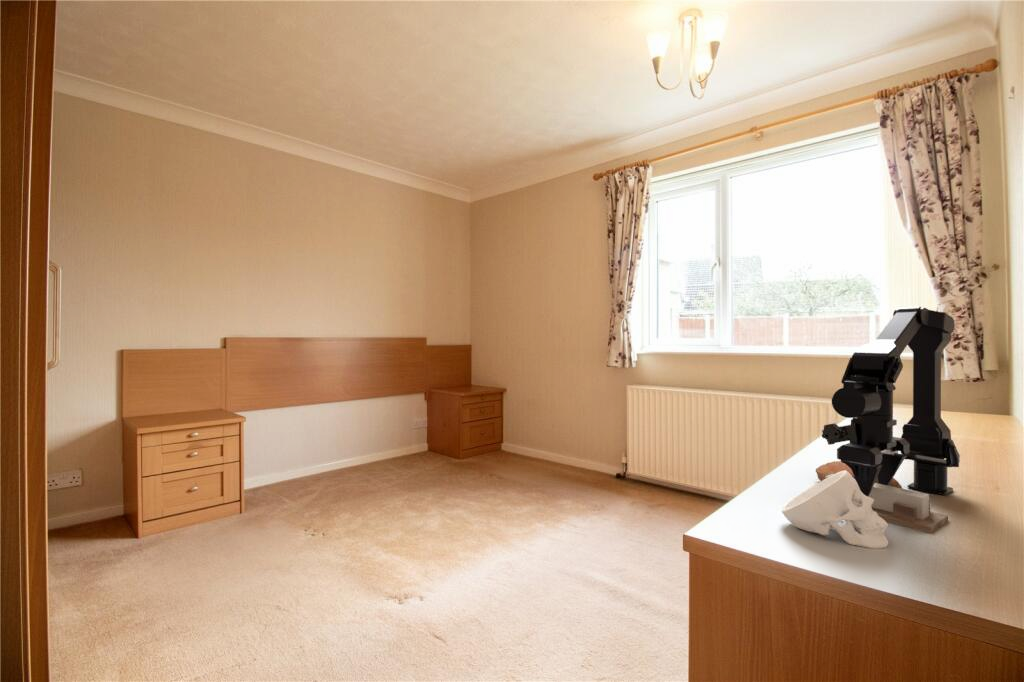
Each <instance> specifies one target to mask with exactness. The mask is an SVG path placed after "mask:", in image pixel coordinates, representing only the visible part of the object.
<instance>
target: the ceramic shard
mask: <svg viewBox="0 0 1024 682" xmlns="http://www.w3.org/2000/svg"><path fill="white" fill-rule="evenodd" d="M844 470H846V471H848V472H849V473H850V474H851V476H852V477H853V478H854V479H855V477H854V474H853V472H852V470H851V468H850V467H848V466H847V465H846V464H845V463H842V462H841V460H839V461H838V460H837V461H835V460H834V461H830V462H827V463H825V464H822V465H819V466H818V467H816V468H815V473H816V476H817V479H818V480H819V482H821V481H823V480H824V479H825V476H828V475H831V474H836V473H838V472H841V471H844ZM875 483H878V477H877V479H876V481H875ZM878 484H879V483H878ZM888 486H892V487H897V488H901V489H904V488H903V486H902V485H901V484H900V483H899V481H898V480H897V479H895V478H894V477H893V478H892V480H891V482H890V483H889V485H888Z"/></svg>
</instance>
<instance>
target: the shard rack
mask: <svg viewBox="0 0 1024 682" xmlns="http://www.w3.org/2000/svg"><path fill="white" fill-rule="evenodd" d="M855 506H856V505H855ZM872 510H873V511H875V512H876V513H877V515H878V516H879V517H881V518H882V519H884V520H885V521H886V522H887V523H892V524H895V525H899V526H903V527H907V528H909V529H910V528H911V529H914V530H918V531H921V532H924V533H929V534H932V533H933V532H934V531H936V530H937V529H939V528H940V527H942V526H943V525H945V523H947V522H949V515H948V514H944V513H939V512H935V511H932V510H931V498H929V516H928V517H926V518H924V519H923V520H921V519H917V507H916V506H912V505H908V504H903V503H899V502H895V503H893V512H889V511H885V510H881V509H877V508H873V507H872Z"/></svg>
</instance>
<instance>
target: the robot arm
mask: <svg viewBox="0 0 1024 682" xmlns="http://www.w3.org/2000/svg"><path fill="white" fill-rule="evenodd" d="M954 330H955V319H954V317H952V316H951V315H949V314H947V312H945V311H937V310H932V309H928V308H926V307H922V306H909V307H908V306H906V307H899V308H895V309H894V310H893V314H892V318H891V319H890V320H889V321H888V323H887V324H886V326H885V327H884V328H883V329H882V331H881V332H880V333H879V335H878V336H877V337H876V338H875V339H874V341H871V342H869V343H867V344H863V345H861V346H860V347H859V348H858V349H856V350H855V351H854V352H853V354H852V356H850V358H849V361H848V363H847V365H846V368H845V371H844V373H843V375H842V378H841V381H840V382H841V384H842V387H841V388H838V389H837V390H836V391H835V392H834V393H833V395H832V398H831V405H832V408H833V410H834V411H835V412H836V413H837V414H838V415H840V416H841V417H844V418H847V419H850V418H851V419H850V424H846V425H840V426H839V425H838V424H837V423H836V422H833V423H830V424H829V423H828V424H824V425H823V429H822V430H821V433H822V434H821V437H822V438H823V439H825V440H826V442H827V445H829V446H830V445H835V443H836V444H837V443H842V442H847V441H849V443H845V444H842V445H841V446H839V447H838V448H837V449H836V459H837V460H839V461H841V462H842V463H845V464H846V465H847V466H848V467H850V468H851V470H852V472H853V474H854V477H855V480H856V482H857V483H858V486H859V488H860V491H861V492H862V493H863V494H864V495H865V496H867V497H868V496H869V494H870V492H871V490H872V488H873V485H874V483H875V481H876V479H877V477H878V483H879V484H883V485H887V486H888V485H889V483H890V482H891V480H892V478H894V477H895V475H896V473H897V471H899V469H900V468H901V467H900V466H901V465H902V463H903V462H904V460H910V461H913V482H912V483H909V484H907V488H908V489H913V490H918V491H921V492H928V493H933V494H938V495H941V496H943V495H944V496H947V495H948V494H949V493H951V492H953V491H954V488H953V487H950V486H948V468H959V467H960V461H961V460H960V457H961V454H960V452H959V451H958V449H957V447H956V445H955V442H954V440H953V439H952V430H951V429H950V428H949V426H948V425H947V424H946V423H945V421H944V420H943V418H942V416H941V414H942V352H943V351H944V350H945V348H946V347H947V346H948V344H950V342H951V340H952V333H953V332H954ZM907 346H908V347H909V349H910V350H911V351H912V359H913V361H912V417H911V418H910V419H909V420H908V422H907V423H904V424H903V426H902V429H901V430H902V434H901V437H895V436H894V426H897V421H898V420H897V419H896V418H895V419H894V418H893V417H894V391H895V390H896V388H897V387H896V386H895V384H896V382H897V380H898V378H899V377H900V374H901V372H902V371H903V369H904V364H903V362H902V359H901V356H902V354H903V352H904V351H905V350H906V348H907ZM899 452H900V453H899Z"/></svg>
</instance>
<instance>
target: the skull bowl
mask: <svg viewBox="0 0 1024 682" xmlns="http://www.w3.org/2000/svg"><path fill="white" fill-rule="evenodd" d="M873 502H874V499H872V498H870V497H867V496H865V495H864V494H863V493H862V492H861V491H860V488H859V486H858V483H857V482H856V480H855V479H854V478H853V477H852V476H851V474H850V473H849V472H848V471H846V470H844V471H841V472H838V473H836V474H834V475H832V476H830V477H828V478H826V479H824V480H823V481H819V482H817V483H815V484H814V485H812V486H811V487H809V488H807V489H806V490H804V491H802V492H801V493H799V494H798V495H796V496H795V497H794V498H793V499H791V500H790V501H788V502H787V503H786V504H785V505H784V506H783V507H782V509H781V514H783V515H784V517H785V519H787V521H789V523H791V524H792V525H793V526H794V527H795V528H797V529H800V530H803V531H806V532H809V533H815V534H819V535H820V536H826V535H829V533H830V531H831V530H833V531H835V532H836V533H838V534H839V536H841V537H840V538H842V539H843V541H844V542H846V543H847V544H849V545H852V546H858V547H862V548H863V547H864V548H868V549H885V548H887V547H888V546H889V540H888V539H887V537H886V535H885V531H886V528H888V526H889V524H888V522H887V521H885V520H884V519H882V518H881V517H879V516H878V515H877V513H876V512H875V511H873V510H872V507H871V504H873ZM855 505H856V506H855ZM843 521H844V522H845V523H846V524H845V525H844V526H842V525H839V523H842V524H844V522H843Z"/></svg>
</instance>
